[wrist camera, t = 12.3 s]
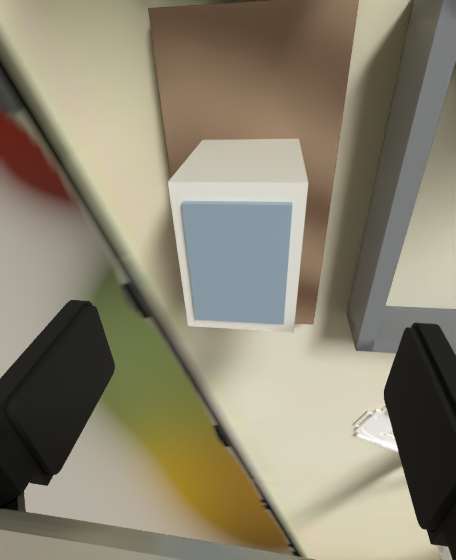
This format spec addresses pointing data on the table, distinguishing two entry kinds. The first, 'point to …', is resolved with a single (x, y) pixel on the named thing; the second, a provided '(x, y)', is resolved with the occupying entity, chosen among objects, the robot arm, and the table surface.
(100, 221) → the table surface
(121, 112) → the table surface
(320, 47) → the walnut board
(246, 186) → the label box
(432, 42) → the parts bin
